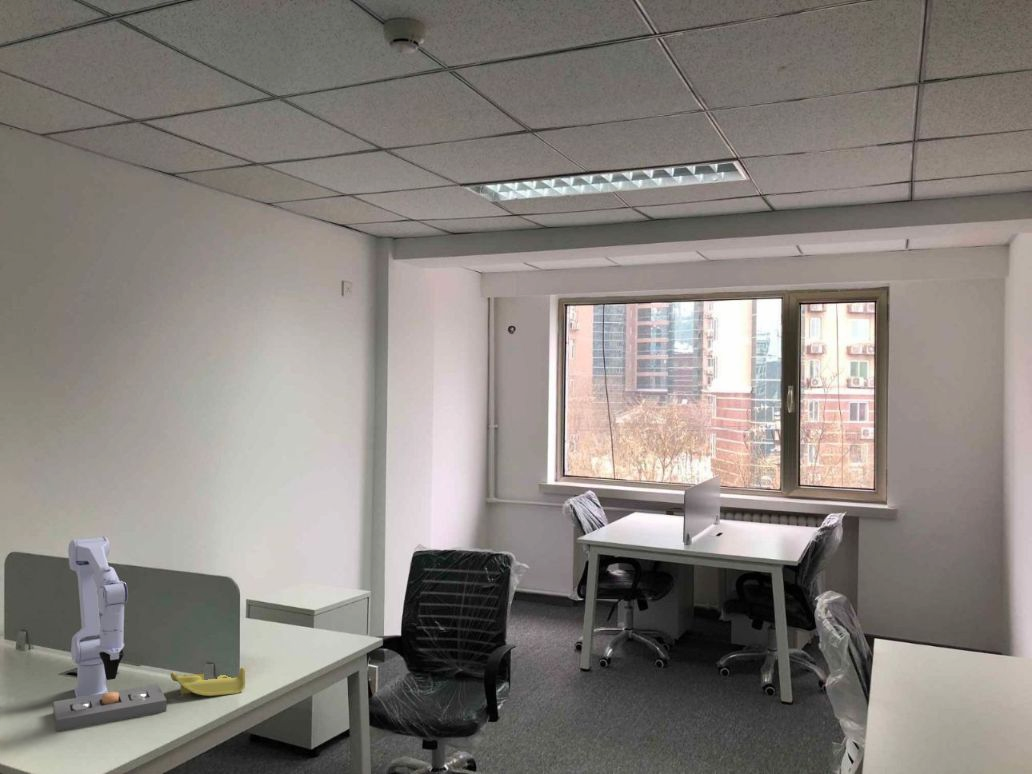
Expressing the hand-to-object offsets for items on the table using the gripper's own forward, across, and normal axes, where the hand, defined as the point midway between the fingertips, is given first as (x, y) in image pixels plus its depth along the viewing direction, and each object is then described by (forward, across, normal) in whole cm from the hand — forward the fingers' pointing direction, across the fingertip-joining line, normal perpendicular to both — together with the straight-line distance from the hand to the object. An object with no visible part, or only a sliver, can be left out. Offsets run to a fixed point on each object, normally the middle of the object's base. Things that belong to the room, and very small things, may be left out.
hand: (110, 678), depth 216 cm
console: (+9, 0, 0) cm, 9 cm away
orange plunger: (+7, 0, 0) cm, 7 cm away
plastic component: (+9, -3, +26) cm, 28 cm away
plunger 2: (+8, 0, +7) cm, 11 cm away
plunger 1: (+8, 0, -7) cm, 11 cm away
